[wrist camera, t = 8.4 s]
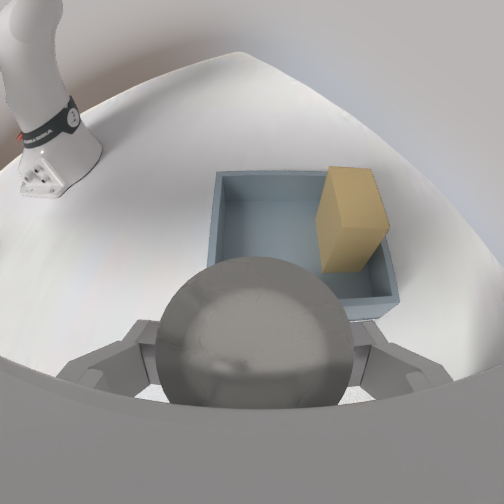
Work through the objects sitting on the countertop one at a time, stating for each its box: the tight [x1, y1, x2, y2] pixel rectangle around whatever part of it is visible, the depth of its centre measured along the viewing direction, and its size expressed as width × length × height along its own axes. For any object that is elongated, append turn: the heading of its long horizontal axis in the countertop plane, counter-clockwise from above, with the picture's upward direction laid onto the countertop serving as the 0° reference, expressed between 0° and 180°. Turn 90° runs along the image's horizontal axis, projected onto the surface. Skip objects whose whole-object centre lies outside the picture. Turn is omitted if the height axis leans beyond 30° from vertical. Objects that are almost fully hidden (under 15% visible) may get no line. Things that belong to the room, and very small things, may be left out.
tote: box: [207, 171, 400, 321], centre depth 33 cm, size 20×18×6 cm
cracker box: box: [315, 166, 390, 273], centre depth 31 cm, size 5×8×10 cm, turn 0°
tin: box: [155, 256, 354, 409], centre depth 12 cm, size 6×6×12 cm
